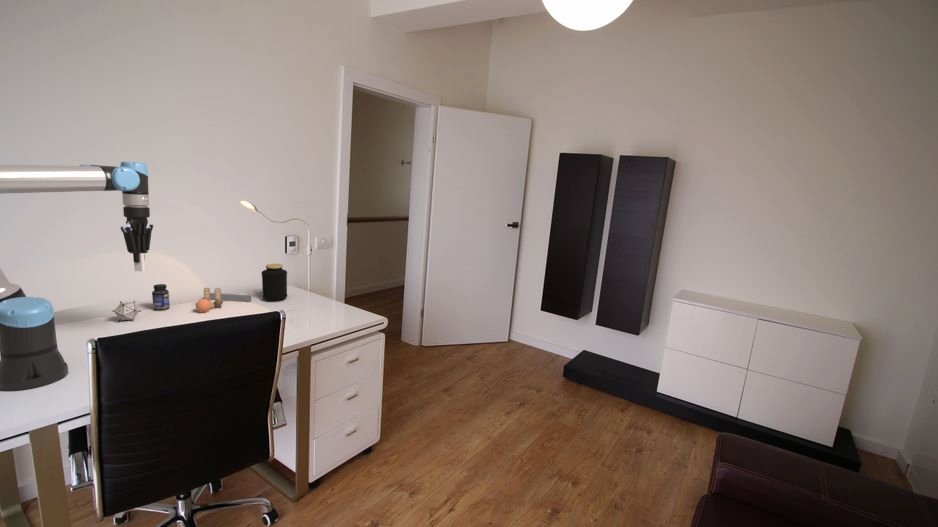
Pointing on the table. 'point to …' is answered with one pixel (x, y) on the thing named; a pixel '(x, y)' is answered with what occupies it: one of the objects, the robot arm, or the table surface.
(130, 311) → the game die
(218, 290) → the pin
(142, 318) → the table surface
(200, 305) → the ball
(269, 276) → the container
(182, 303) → the table surface
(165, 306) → the pill bottle
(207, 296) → the pin
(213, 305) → the pin front
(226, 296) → the back wall
